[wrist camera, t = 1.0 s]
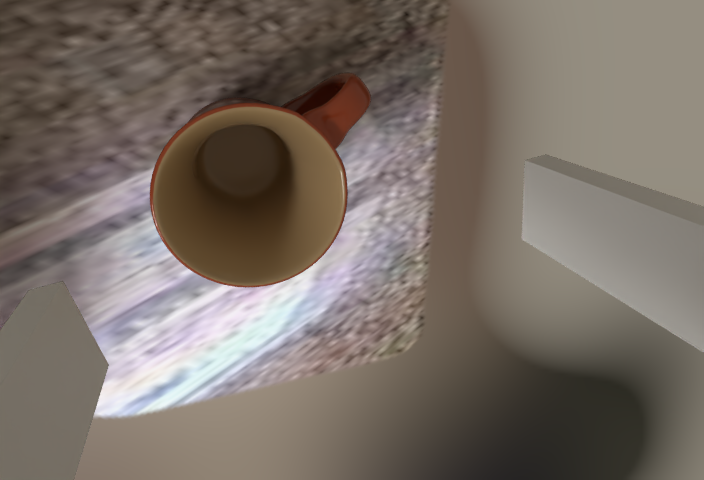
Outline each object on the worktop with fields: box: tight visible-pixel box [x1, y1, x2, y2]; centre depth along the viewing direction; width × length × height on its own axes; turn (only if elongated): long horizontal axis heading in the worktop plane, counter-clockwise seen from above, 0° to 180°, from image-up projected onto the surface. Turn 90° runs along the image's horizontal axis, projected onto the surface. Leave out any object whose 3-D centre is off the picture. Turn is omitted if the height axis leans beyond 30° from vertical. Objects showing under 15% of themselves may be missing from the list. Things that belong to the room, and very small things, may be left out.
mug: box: [150, 73, 371, 287], centre depth 24 cm, size 12×9×10 cm
